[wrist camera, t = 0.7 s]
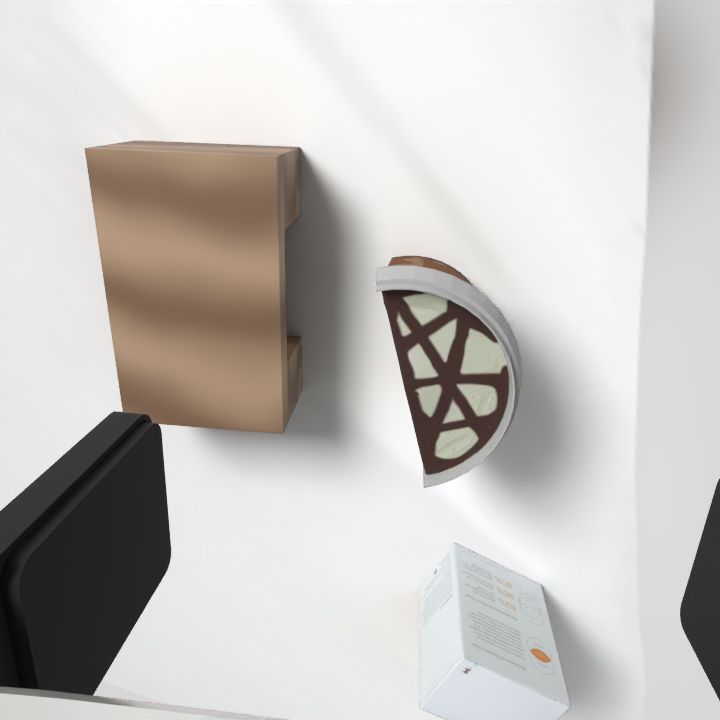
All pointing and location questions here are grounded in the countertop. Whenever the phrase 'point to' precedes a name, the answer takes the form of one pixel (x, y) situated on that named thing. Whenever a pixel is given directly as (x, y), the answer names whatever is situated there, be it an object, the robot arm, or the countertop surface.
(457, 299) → the food container
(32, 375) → the countertop surface
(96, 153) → the bridge shelf
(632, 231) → the countertop surface
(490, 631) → the small box
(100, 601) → the robot arm
